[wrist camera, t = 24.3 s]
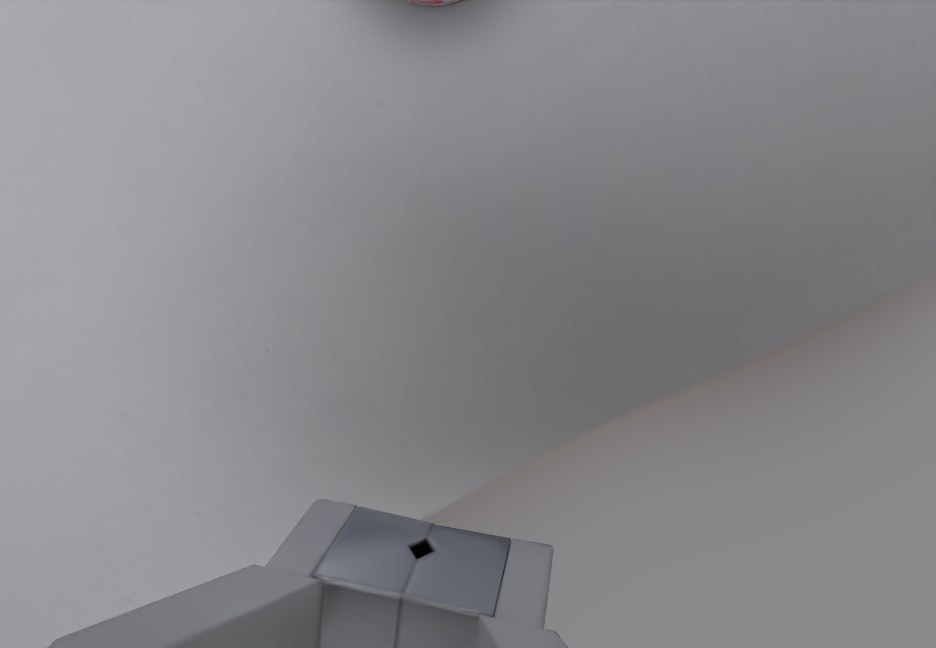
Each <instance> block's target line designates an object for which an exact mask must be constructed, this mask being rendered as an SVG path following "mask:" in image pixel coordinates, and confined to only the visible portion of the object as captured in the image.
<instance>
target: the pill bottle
mask: <svg viewBox="0 0 936 648" xmlns="http://www.w3.org/2000/svg"><path fill="white" fill-rule="evenodd" d="M407 1H410V2H413V3H417V4H422V5H444V4H449V3H453V2H456V1H459V0H407Z"/></svg>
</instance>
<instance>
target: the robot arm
mask: <svg viewBox="0 0 936 648" xmlns="http://www.w3.org/2000/svg"><path fill="white" fill-rule="evenodd" d="M510 544H511V545H510ZM552 558H553V547H552V546H551V545H548V544H541V543H535V542H529V541H523V540H517V539H512V541H511V539H510V538H506V537H500V536H495V535H489V534H483V533H478V532H473V531H467V530H461V529H456V528H450V527H444V526H439V525H434V523H429V522H425V521H421V520H416V519H412V518H408V517H403V516H399V515H395V514H390V513H386V512H381V511H377V510H373V509H368V508H364V507H357V506H356V505H352V504H347V503H342V502H336V501H331V500H326V499H319V500H316V501H315V502H313V504H312V505H311V506H310V508H309V509H308V510H307V512H306V513H305V514H304V516H303V517H302V518H301V520H300V521H299V522H298V524H297V525H296V526H295V528H294V529H293V530H292V532H291V533H290V534H289V536H288V537H287V538H286V540H285V541H284V542H283V544H282V545H281V546H280V548H279V549H278V550H277V552H276V553H275V554H274V556H273V557H272V558H271V560H270V561H269V562H268V564H267V565H266V566H265V567H263V566H258V565H251V566H249V567H246V568H243V569H241V570H238V571H235V572H233V573H230V574H227V575H225V576H222V577H220V578H217V579H214V580H212V581H209V582H206V583H204V584H201V585H198V586H196V587H193V588H191V589H188V590H185V591H183V592H180V593H177V594H175V595H172V596H169V597H167V598H164V599H162V600H159V601H156V602H154V603H151V604H148V605H146V606H143V607H140V608H138V609H135V610H133V611H130V612H127V613H125V614H122V615H119V616H117V617H114V618H111V619H109V620H106V621H103V622H101V623H98V624H96V625H93V626H90V627H88V628H85V629H82V630H80V631H77V632H74V633H72V634H69V635H67V636H64V637H61V638H59V639H56V640H55V641H54V642H53V643H52V644H51V645H50V646H49V647H48V648H568V647H567V646H566V644H565V643H564V642H563V640H562V639H561V638H560V636H559V635H558V634H557V632H555V631H553V630H548V629H544V623H545V614H546V607H547V599H548V590H549V582H550V574H551V566H552Z"/></svg>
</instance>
